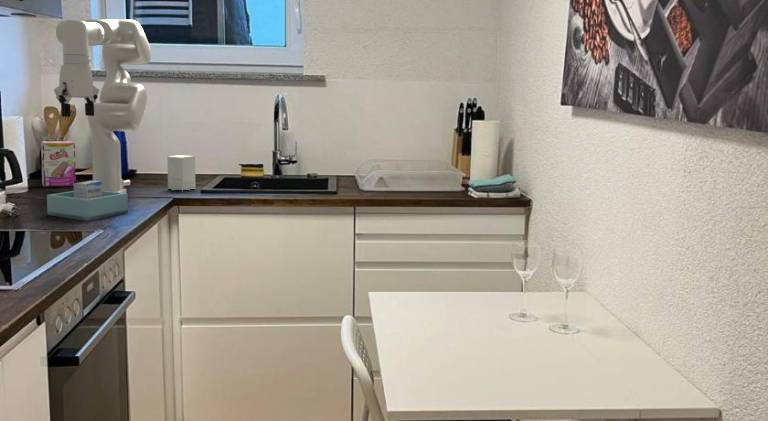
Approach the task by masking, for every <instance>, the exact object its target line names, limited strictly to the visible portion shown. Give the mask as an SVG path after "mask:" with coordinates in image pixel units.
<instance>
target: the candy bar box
mask: <svg viewBox="0 0 768 421" xmlns="http://www.w3.org/2000/svg"><path fill="white" fill-rule="evenodd" d="M40 143H41V144H40V151H41V154H40V155H41V156H40V157H41V182H42V184H41V185H42V187H44V188H47V187H48V188H50V187H51V188H53V187H55V188H56V187H74V185H73V184H75V183H77V182H76V180H77V179H76V145H75V144H76V143H75V142H74V141H70V140H69V141H50V140H48V141H44V140H43V141H40Z"/></svg>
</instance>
